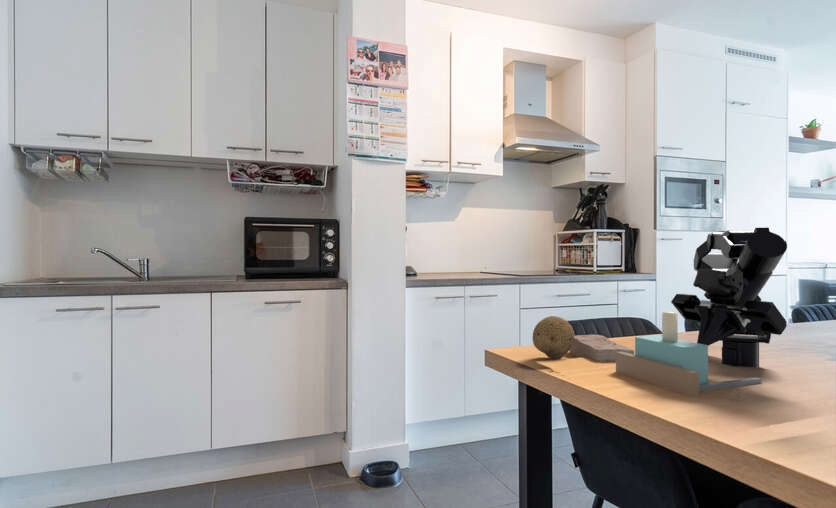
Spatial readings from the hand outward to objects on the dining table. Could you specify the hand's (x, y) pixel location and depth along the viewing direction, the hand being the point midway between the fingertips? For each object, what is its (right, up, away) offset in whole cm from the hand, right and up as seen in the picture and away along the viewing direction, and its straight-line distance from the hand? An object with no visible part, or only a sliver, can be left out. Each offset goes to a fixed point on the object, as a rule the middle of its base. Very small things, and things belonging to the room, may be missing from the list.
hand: (700, 345), depth 82 cm
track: (-2, -7, -1) cm, 8 cm away
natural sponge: (-21, -7, +19) cm, 29 cm away
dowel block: (-7, -6, -3) cm, 9 cm away
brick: (-10, -8, +20) cm, 24 cm away
